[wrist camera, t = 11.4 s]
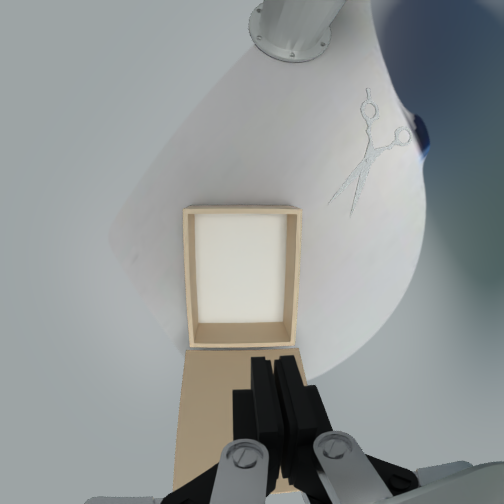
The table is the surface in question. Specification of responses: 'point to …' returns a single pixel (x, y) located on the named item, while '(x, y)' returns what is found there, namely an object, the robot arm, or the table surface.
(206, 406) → the lid
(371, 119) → the scissors
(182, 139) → the table surface
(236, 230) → the box
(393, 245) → the table surface
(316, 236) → the table surface
